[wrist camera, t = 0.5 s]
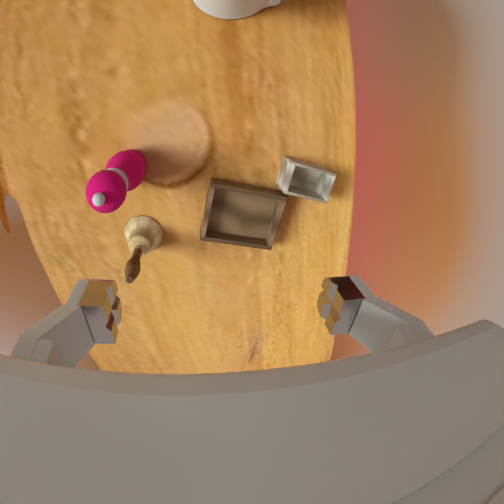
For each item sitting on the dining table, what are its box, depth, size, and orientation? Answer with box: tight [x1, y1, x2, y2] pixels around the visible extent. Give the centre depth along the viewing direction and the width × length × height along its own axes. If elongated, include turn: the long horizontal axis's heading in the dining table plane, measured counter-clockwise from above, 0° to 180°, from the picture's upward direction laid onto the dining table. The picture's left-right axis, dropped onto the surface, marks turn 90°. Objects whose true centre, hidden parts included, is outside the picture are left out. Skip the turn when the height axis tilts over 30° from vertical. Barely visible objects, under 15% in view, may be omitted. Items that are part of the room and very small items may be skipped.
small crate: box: [276, 156, 337, 203], centre depth 52 cm, size 6×9×6 cm, turn 76°
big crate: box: [200, 178, 288, 250], centre depth 55 cm, size 12×15×4 cm
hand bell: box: [124, 216, 163, 283], centre depth 48 cm, size 8×8×16 cm
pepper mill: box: [86, 150, 146, 213], centre depth 39 cm, size 7×7×20 cm
